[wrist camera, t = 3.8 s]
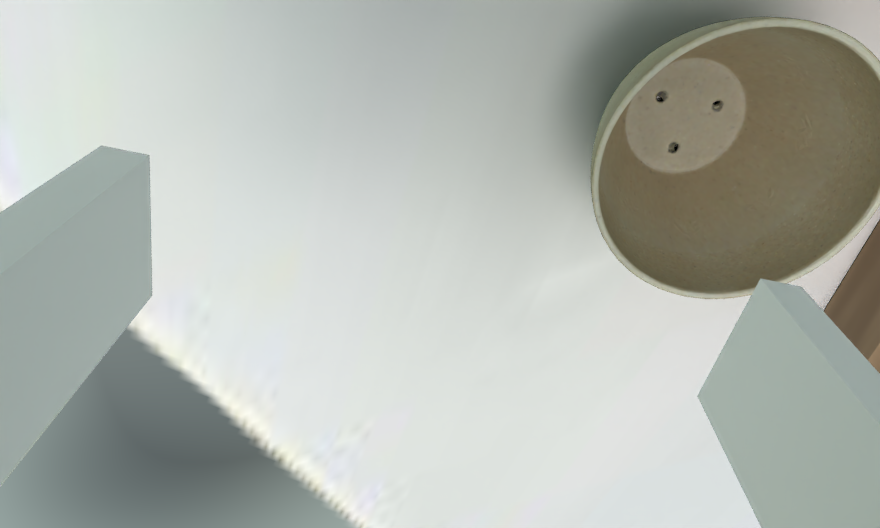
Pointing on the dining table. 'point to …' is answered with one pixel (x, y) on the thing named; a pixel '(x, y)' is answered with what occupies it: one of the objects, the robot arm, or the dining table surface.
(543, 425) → the dining table surface
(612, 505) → the dining table surface
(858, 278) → the l-shaped wooden block
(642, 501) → the dining table surface
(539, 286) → the dining table surface
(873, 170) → the flower pot
